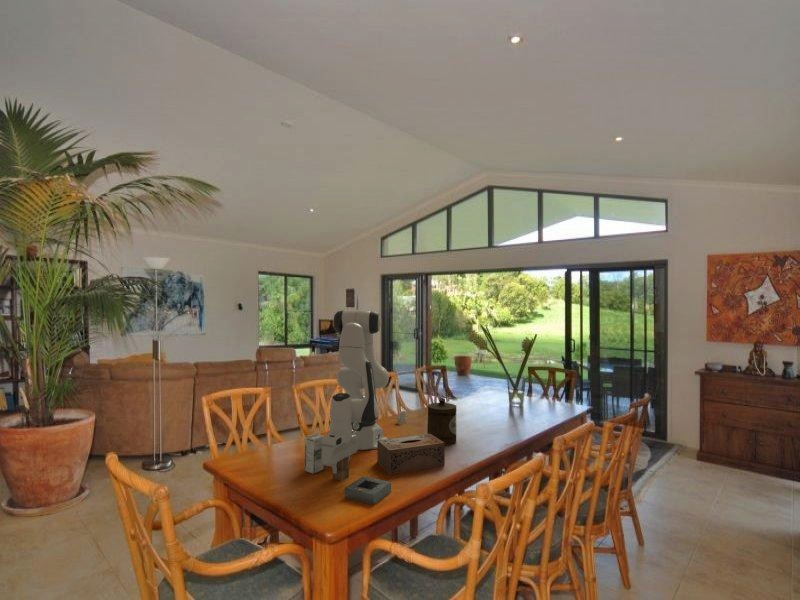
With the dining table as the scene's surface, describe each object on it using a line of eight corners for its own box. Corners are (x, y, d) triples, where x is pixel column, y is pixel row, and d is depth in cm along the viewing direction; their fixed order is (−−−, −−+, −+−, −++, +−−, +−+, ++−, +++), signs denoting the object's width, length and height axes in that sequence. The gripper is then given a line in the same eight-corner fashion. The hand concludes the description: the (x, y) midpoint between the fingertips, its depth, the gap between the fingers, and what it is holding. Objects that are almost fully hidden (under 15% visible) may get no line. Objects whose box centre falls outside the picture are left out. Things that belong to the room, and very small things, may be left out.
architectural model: (395, 424, 252) (395, 411, 252) (401, 422, 258) (401, 409, 258) (400, 425, 250) (400, 412, 250) (406, 422, 256) (406, 410, 256)
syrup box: (315, 467, 184) (315, 432, 184) (324, 470, 180) (324, 435, 180) (304, 470, 179) (304, 436, 179) (313, 474, 175) (313, 438, 176)
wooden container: (458, 445, 212) (458, 401, 213) (428, 445, 212) (428, 401, 213) (454, 436, 227) (454, 395, 227) (426, 436, 227) (426, 395, 227)
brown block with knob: (339, 474, 175) (339, 453, 175) (348, 476, 173) (348, 455, 173) (332, 478, 171) (332, 457, 171) (342, 480, 169) (342, 459, 169)
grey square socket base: (363, 485, 165) (363, 475, 165) (391, 491, 159) (391, 481, 159) (344, 497, 154) (344, 487, 154) (373, 504, 148) (374, 494, 149)
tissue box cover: (429, 455, 199) (429, 433, 200) (444, 465, 186) (444, 442, 186) (377, 463, 189) (377, 440, 190) (389, 474, 176) (389, 450, 176)
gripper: (349, 427, 183) (348, 460, 183) (318, 440, 165) (318, 477, 165) (361, 429, 180) (361, 462, 180) (332, 443, 162) (331, 480, 162)
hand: (340, 469), depth 172 cm, fingers open, 6 cm apart
